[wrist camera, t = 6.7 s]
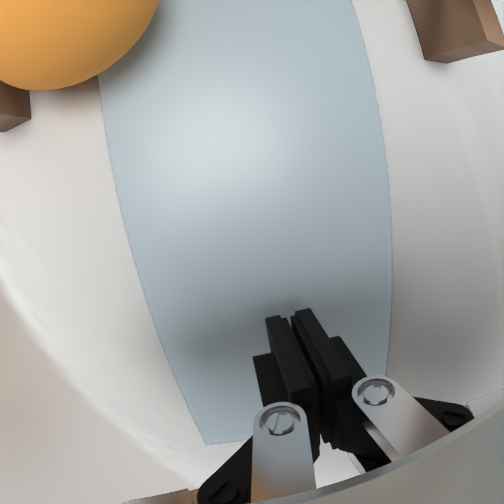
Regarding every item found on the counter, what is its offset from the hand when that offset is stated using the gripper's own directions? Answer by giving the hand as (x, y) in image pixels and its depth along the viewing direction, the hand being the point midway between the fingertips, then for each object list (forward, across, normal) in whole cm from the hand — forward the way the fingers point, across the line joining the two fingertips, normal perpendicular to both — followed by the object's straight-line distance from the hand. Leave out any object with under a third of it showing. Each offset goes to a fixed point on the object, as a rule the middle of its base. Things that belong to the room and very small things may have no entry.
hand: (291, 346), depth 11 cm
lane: (+2, 0, -11) cm, 11 cm away
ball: (-2, +5, -13) cm, 14 cm away
